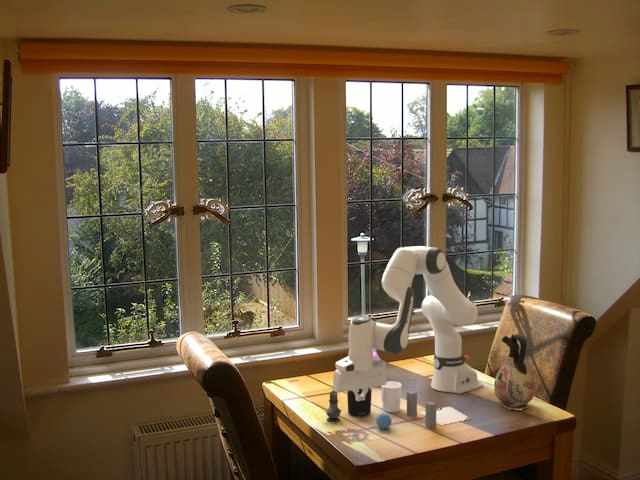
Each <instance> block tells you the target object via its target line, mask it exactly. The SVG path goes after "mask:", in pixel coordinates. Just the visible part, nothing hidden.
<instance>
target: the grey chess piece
mask: <svg viewBox="0 0 640 480" xmlns="http://www.w3.org/2000/svg"><path fill="white" fill-rule="evenodd" d="M328 402H329V407H328V408H326V409H325V412H326V415H327V418H326V421H327V422H328V423H339V422H341V418H340V416H341V412H342V409H340V408H339V404H338V402H339V400H338V392H337V391H336V390H335V389H334V388H333V389H332V391H330V392H329V400H328Z"/></svg>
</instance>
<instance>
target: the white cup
mask: <svg viewBox="0 0 640 480" xmlns="http://www.w3.org/2000/svg"><path fill="white" fill-rule="evenodd" d="M380 388H381V389H380V391H381V404H382V406H381V407H382V408H381V409H382V411H384V412H386V413H396V412H397V413H398V412H399V411H400V409H401V398H402V383H401V382H397V381H393V380H392V381H391V380H390V381H388V380H387V383H386V385H384V386H380Z"/></svg>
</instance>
